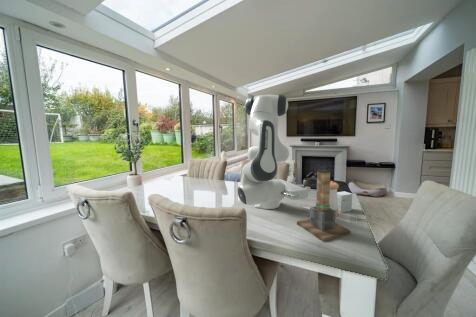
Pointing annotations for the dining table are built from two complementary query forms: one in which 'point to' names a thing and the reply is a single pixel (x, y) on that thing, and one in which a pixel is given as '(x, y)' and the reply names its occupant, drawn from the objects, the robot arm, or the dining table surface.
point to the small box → (344, 201)
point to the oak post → (323, 190)
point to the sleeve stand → (323, 225)
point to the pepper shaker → (333, 196)
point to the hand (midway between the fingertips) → (302, 186)
